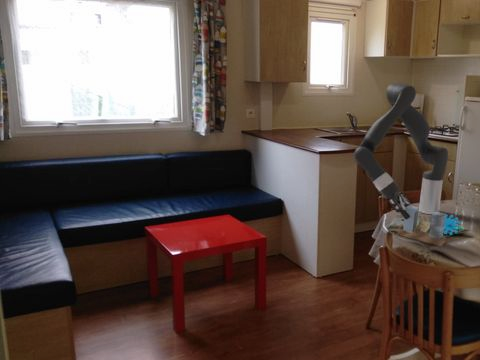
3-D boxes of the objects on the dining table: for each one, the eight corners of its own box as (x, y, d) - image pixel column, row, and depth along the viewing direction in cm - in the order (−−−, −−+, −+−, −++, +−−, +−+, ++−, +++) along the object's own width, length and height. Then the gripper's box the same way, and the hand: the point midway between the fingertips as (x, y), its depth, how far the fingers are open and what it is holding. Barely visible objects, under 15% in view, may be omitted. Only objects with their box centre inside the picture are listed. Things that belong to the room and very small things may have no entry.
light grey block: (406, 227, 190) (408, 205, 188) (416, 229, 188) (418, 207, 185) (402, 229, 187) (405, 207, 185) (413, 232, 185) (415, 209, 182)
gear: (432, 229, 192) (440, 210, 195) (432, 235, 196) (439, 216, 200) (459, 238, 186) (467, 218, 190) (458, 244, 191) (466, 224, 194)
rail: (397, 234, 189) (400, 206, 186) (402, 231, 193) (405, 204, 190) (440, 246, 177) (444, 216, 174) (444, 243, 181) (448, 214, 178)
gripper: (388, 183, 182) (414, 215, 178) (397, 177, 193) (421, 207, 190) (374, 193, 186) (399, 225, 182) (384, 187, 197) (407, 216, 194)
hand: (410, 215), depth 186 cm, fingers open, 8 cm apart
